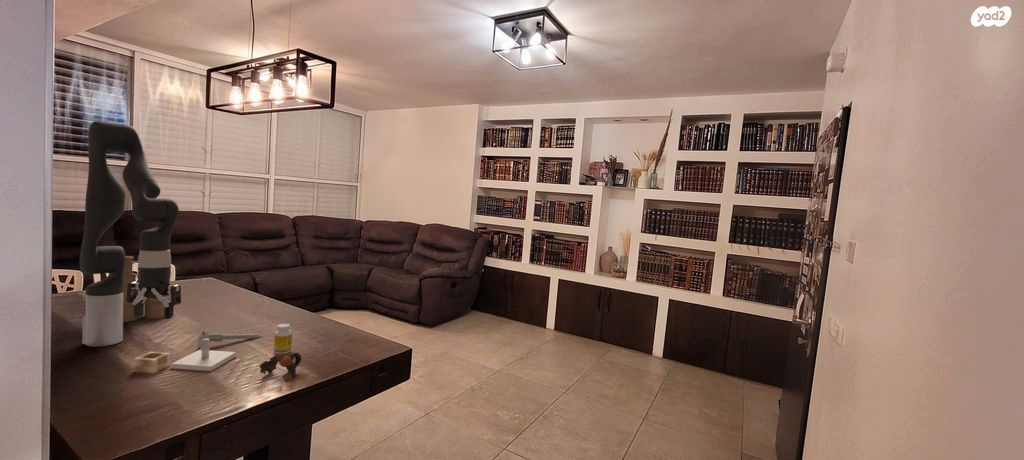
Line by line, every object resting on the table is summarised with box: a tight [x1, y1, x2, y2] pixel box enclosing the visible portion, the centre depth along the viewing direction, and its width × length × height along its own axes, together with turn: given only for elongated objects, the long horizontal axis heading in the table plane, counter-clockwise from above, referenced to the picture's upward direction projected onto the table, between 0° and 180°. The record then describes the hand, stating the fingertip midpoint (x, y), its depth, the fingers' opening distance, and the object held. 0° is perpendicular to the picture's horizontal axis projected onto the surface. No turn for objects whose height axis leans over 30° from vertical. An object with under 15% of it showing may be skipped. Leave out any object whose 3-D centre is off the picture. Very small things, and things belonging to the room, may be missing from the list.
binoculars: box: [123, 255, 173, 323], centre depth 171 cm, size 21×10×25 cm, turn 134°
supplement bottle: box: [273, 323, 293, 355], centre depth 149 cm, size 5×5×10 cm
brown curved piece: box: [259, 352, 302, 383], centre depth 131 cm, size 12×10×8 cm
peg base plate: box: [170, 338, 237, 372], centre depth 135 cm, size 12×12×8 cm
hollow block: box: [133, 351, 171, 374], centre depth 128 cm, size 6×6×4 cm
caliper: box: [197, 330, 263, 350], centre depth 153 cm, size 20×1×6 cm, turn 143°
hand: (153, 317), depth 127 cm, fingers open, 8 cm apart
